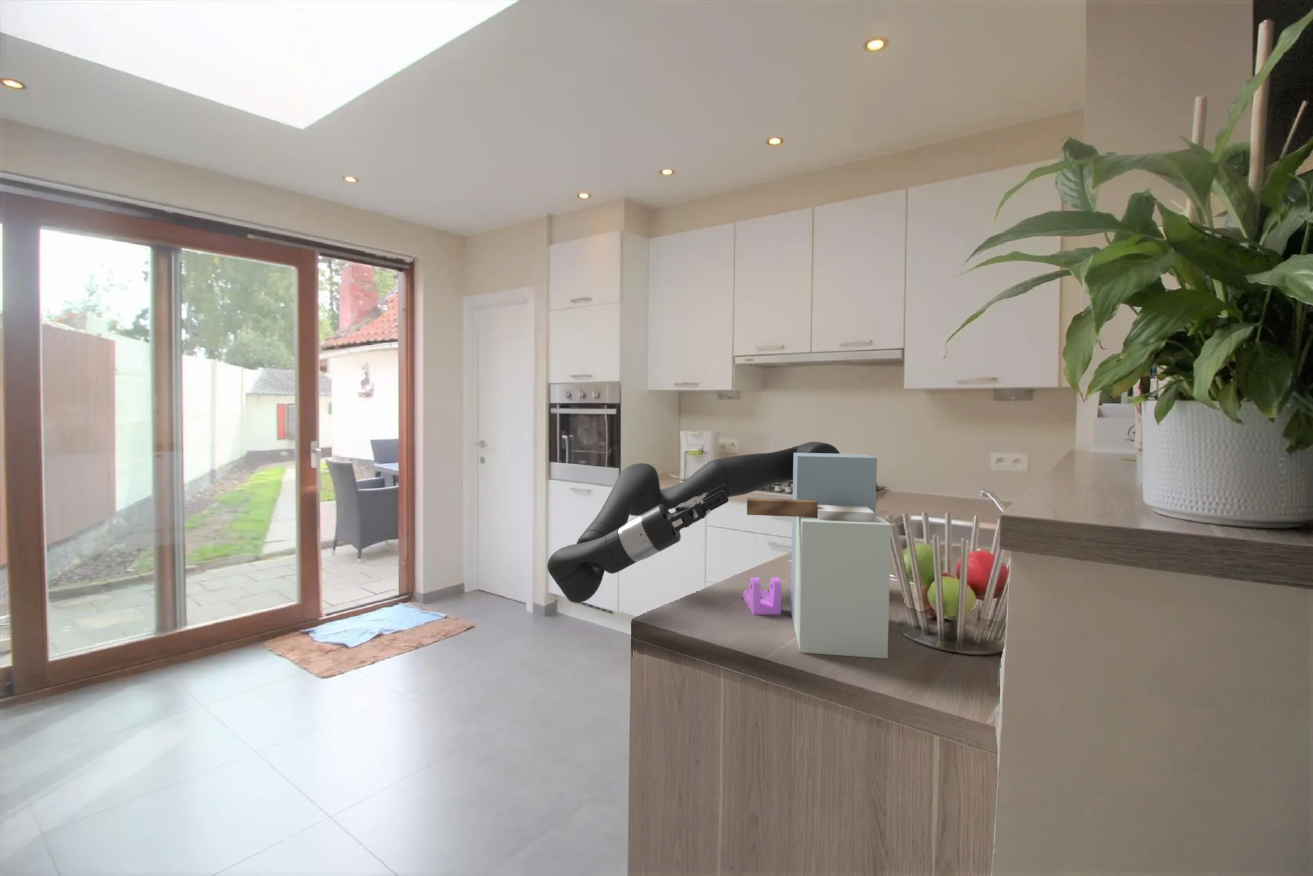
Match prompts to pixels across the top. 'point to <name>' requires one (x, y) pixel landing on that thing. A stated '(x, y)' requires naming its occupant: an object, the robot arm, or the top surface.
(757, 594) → the bracket
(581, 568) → the robot arm
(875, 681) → the top surface
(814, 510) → the turner
